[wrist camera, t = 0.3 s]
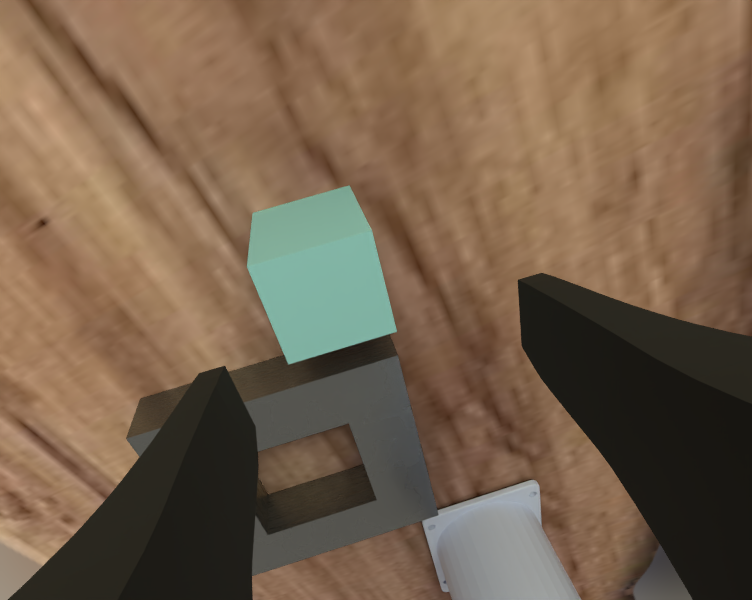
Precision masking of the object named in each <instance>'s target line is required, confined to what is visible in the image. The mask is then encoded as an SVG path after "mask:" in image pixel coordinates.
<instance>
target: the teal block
mask: <svg viewBox="0 0 752 600" xmlns="http://www.w3.org/2000/svg"><path fill="white" fill-rule="evenodd" d="M247 268H248V270H249V273H250V275H251V277H252V280H253V282H254V284H255V287H256V289H257V292H258V294H259V296H260V299H261V301H262V303H263V306H264V308H265V310H266V313H267V315H268V318H269V320H270V322H271V325H272V327H273V329H274V332H275V334H276V336H277V339H278V341H279V343H280V346H281V348H282V351H283V353H284V355H285V358H286V360H287V362H288V365H289V364H292V363H295V362H298V361H302V360H305V359H308V358H312V357H315V356H318V355H322V354H325V353H328V352H331V351H335V350H338V349H341V348H345V347H348V346H351V345H355V344H358V343H361V342H364V341H368V340H371V339H374V338H378V337H381V336H384V335H388V334H391V333H394V332H397V330H396V326H395V322H394V318H393V314H392V310H391V306H390V302H389V298H388V294H387V290H386V286H385V282H384V278H383V273H382V269H381V265H380V261H379V257H378V253H377V249H376V245H375V241H374V237H373V233H372V230H371V228H370V226H369V224H368V222H367V220H366V218H365V216H364V214H363V212H362V210H361V208H360V206H359V204H358V202H357V200H356V198H355V196H354V194H353V192H352V190H351V188H350V186H346V187H342V188H339V189H335V190H332V191H328V192H325V193H321V194H318V195H314V196H311V197H307V198H304V199H300V200H297V201H293V202H290V203H286V204H283V205H279V206H276V207H272V208H269V209H265V210H262V211H258V212H255V213H253V215H252V224H251V234H250V243H249V253H248V262H247Z"/></svg>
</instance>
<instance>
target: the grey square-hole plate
mask: <svg viewBox="0 0 752 600" xmlns="http://www.w3.org/2000/svg"><path fill="white" fill-rule="evenodd" d="M228 373H229V375H230V377H231V379H232V381H233V383H234V385H235V387H236V389H237V390H238V392H239V394H240V396H241V398H242V400H243V402H244V404H245V406H246V408H247V410H248V412H249V414H250V416H251V418H252V420H253V422H254V424H255V426H256V436H257V449H258V451H262V450H265V449H268V448H271V447H274V446H278V445H281V444H284V443H287V442H290V441H294V440H297V439H300V438H303V437H306V436H310V435H313V434H316V433H319V432H323V431H326V430H329V429H332V428H335V427H339V426H342V425H345V424H348V423H349V425H350V428H351V431H352V434H353V436H354V439H355V442H356V444H357V447H358V450H359V453H360V455H361V458H362V461H363V464H364V465H361V466H358V467H355V468H351V469H348V470H345V471H342V472H339V473H336V474H333V475H329V476H326V477H323V478H320V479H317V480H314V481H311V482H307V483H304V484H301V485H298V486H295V487H292V488H288V489H285V490H282V491H279V492H276V493H273V494H270V495H268V494H267V492H266V490H265V489H264V487H263V485H262V483H261V482H260V480H259V478H258V483H257V500H256V514H255V529H254V544H253V559H252V576H254V575H257V574H260V573H263V572H266V571H269V570H272V569H275V568H278V567H281V566H285V565H288V564H291V563H294V562H297V561H300V560H303V559H306V558H309V557H312V556H315V555H318V554H321V553H325V552H328V551H331V550H334V549H337V548H340V547H343V546H346V545H349V544H352V543H355V542H358V541H361V540H364V539H368V538H371V537H374V536H377V535H380V534H383V533H386V532H389V531H392V530H395V529H398V528H401V527H404V526H407V525H411V524H414V523H417V522H420V521H423V520H426V519H429V518H432V517H435V516H438V515H439V514H438V511H437V507H436V503H435V499H434V495H433V491H432V487H431V483H430V479H429V475H428V471H427V468H426V464H425V460H424V456H423V452H422V448H421V444H420V440H419V436H418V432H417V429H416V425H415V421H414V417H413V413H412V409H411V405H410V401H409V397H408V393H407V389H406V386H405V382H404V378H403V374H402V370H401V366H400V362H399V358H398V355H397V352H396V350H395V347H394V344H393V342H392V339H391V337H390V334H388V335H384V336H381V337H378V338H374V339H371V340H368V341H364V342H361V343H358V344H355V345H351V346H348V347H345V348H341V349H338V350H335V351H331V352H328V353H325V354H322V355H318V356H315V357H312V358H308V359H305V360H302V361H298V362H295V363H292V364H289V365H288V362H287V360H286V358H285V355H283V356H280V357H277V358H273V359H270V360H267V361H264V362H260V363H257V364H254V365H250V366H247V367H244V368H240V369H237V370H234V371H230V372H228ZM191 384H192V383H191ZM191 384H187V385H184V386H181V387H178V388H174V389H171V390H168V391H164V392H161V393H158V394H154V395H151V396H148V397H145V398H141V399H140V401H139V404H138V406H137V409H136V412H135V415H134V418H133V421H132V423H131V426H130V429H129V432H128V435H127V437H126V439H127V441H128V442H129V443H130V445H131V446H132V447H133V449H134V450H135V451H136V453H137V454H138V455H139V457H140V456H141V455H142V454H143V452H144V451H145V450H146V448H147V447H148V446H149V444H150V443H151V442H152V440H153V439H154V438H155V436H156V435H157V433H158V432H159V430H160V429H161V428H162V426H163V425H164V423H165V422H166V420H167V419H168V417H169V416H170V415H171V413H172V412H173V410H174V409H175V407H176V406H177V404H178V403H179V401H180V400H181V399H182V397H183V396H184V394H185V393H186V391H187V390H188V388H189V387H190V385H191Z"/></svg>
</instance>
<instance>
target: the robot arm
mask: <svg viewBox="0 0 752 600" xmlns="http://www.w3.org/2000/svg"><path fill="white" fill-rule="evenodd" d="M518 292H519V308H520V325H521V341H522V347H523V349H524V351H525V353H526V354H527V356H528V358H529V359H530V361H531V363H532V365H533V366H534V368H535V369H536V371H537V373H538V374H539V376H540V377H541V379H542V380H543V382H544V383H545V384H546V385H547V387H548V388H549V389H550V391H551V392H552V393H553V394H554V396H555V397H556V398H557V399H558V401H559V402H560V403H561V404H562V406H563V407H564V408H565V409H566V411H567V412H568V413H569V414H570V415H571V417H572V418H573V419H574V420H575V422H576V423H577V424H578V425H579V427H580V428H581V429H582V430H583V431H584V433H585V434H586V435H587V436H588V438H589V439H590V440H591V441H592V443H593V444H594V445H595V446H596V448H597V449H598V450H599V451H600V453H601V454H602V455H603V457H604V458H605V459H606V461H607V462H608V463H609V465H610V466H611V468H612V469H613V471H614V472H615V474H616V475H617V477H618V478H619V480H620V481H621V483H622V484H623V486H624V488H625V489H626V491H627V492H628V494H629V495H630V497H631V498H632V500H633V501H634V503H635V504H636V506H637V508H638V509H639V511H640V512H641V514H642V516H643V517H644V519H645V520H646V522H647V524H648V525H649V527H650V528H651V530H652V532H653V533H654V535H655V536H656V538H657V540H658V541H659V543H660V545H661V546H662V548H663V549H664V551H665V553H666V555H667V556H668V558H669V560H670V561H671V563H672V565H673V566H674V568H675V570H676V572H677V573H678V575H679V577H680V578H681V580H682V582H683V584H684V585H685V587H686V588H687V590H688V592H689V594H690V595H691V597H692V599H693V600H752V337H751V336H746V335H741V334H736V333H731V332H727V331H723V330H718V329H714V328H710V327H706V326H702V325H697V324H693V323H689V322H686V321H682V320H678V319H675V318H671V317H668V316H665V315H662V314H658V313H655V312H652V311H648V310H645V309H642V308H639V307H636V306H633V305H630V304H627V303H624V302H622V301H619V300H616V299H613V298H610V297H608V296H605V295H602V294H599V293H597V292H594V291H591V290H589V289H586V288H583V287H581V286H578V285H575V284H573V283H570V282H567V281H565V280H562V279H559V278H556V277H553V276H550V275H547V274H544V273H540V274H536V275H533V276H529V277H526V278H523V279H519V280H518ZM257 483H258V449H257V436H256V426H255V424H254V422H253V420H252V418H251V416H250V414H249V412H248V410H247V408H246V406H245V404H244V402H243V400H242V398H241V396H240V394H239V392H238V390H237V389H236V387H235V385H234V383H233V381H232V379H231V377H230V375H229V373H228V371H227V369H226V367H225V366H222V367H219V368H216V369H212V370H209V371H205V372H202V373H199V374H198V376H197V377H196V378H195V380H194V381H193V383H192V384H191V385H190V387H189V388H188V390H187V391H186V393H185V394H184V396H183V397H182V399H181V400H180V401H179V403H178V404H177V406H176V407H175V409H174V410H173V412H172V413H171V415H170V416H169V417H168V419H167V420H166V422H165V423H164V425H163V426H162V428H161V429H160V430H159V432H158V433H157V435H156V436H155V438H154V439H153V440H152V442H151V443H150V444H149V446H148V447H147V448H146V450H145V451H144V452H143V454H142V455H141V456H140V457H139V459H138V460H137V461H136V463H135V464H134V465H133V467H132V468H131V469H130V470H129V472H128V473H127V474H126V476H125V477H124V478H123V480H122V481H121V482H120V483H119V485H118V486H117V487H116V488H115V489H114V491H113V492H112V493H111V494H110V495H109V497H108V498H107V499H106V500H105V501H104V502H103V504H102V505H101V506H100V507H99V508H98V509H97V510H96V511H95V513H94V514H93V515H92V516H91V517H90V518H89V519H88V520H87V521H86V523H85V524H84V525H83V526H82V527H81V528H80V529H79V530H78V531H77V532H76V533H75V534H74V535H73V537H72V538H71V539H70V540H69V541H68V542H67V543H66V544H65V545H64V546H63V547H62V548H61V549H60V550H59V551H58V552H57V553H56V554H55V555H54V556H52V557H51V558H50V559H49V560H48V561H47V562H46V563H45V564H44V565H43V566H42V567H41V569H39V571H37V572H36V574H34V575H33V576H32V578H31V579H29V580H28V581H27V582H26V583H25V584H24V585H23V586H22V587H21V588H20V589H19V590H18V591H17V592H16V593H14V594H13V595H12V596H11V597H10V598H9V599H8V600H253V599H252V559H253V544H254V529H255V514H256V500H257ZM437 511H438V514H439V515H438V516H435V517H432V518H429V519H426V520H423V521H422V524H423V528H424V531H425V534H426V538H427V541H428V545H429V548H430V551H431V555H432V558H433V562H434V565H435V569H436V572H437V575H438V579H439V582H440V586H441V589H442V591H444V592H450V595H451V598H452V600H581V598H580V597H579V595H578V593H577V591H576V589H575V587H574V586H573V584H572V582H571V580H570V578H569V576H568V575H567V573H566V571H565V569H564V567H563V565H562V563H561V562H560V560H559V558H558V556H557V554H556V552H555V551H554V549H553V547H552V545H551V543H550V541H549V540H548V538H547V536H546V534H545V532H544V530H543V529H542V523H541V505H540V487H539V485H538V483H537V481H535V480H529V481H526V482H523V483H520V484H517V485H514V486H511V487H507V488H504V489H501V490H498V491H495V492H492V493H489V494H486V495H483V496H480V497H477V498H474V499H471V500H467V501H464V502H461V503H458V504H455V505H452V506H449V507H446V508H443V509H440V510H437Z"/></svg>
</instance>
